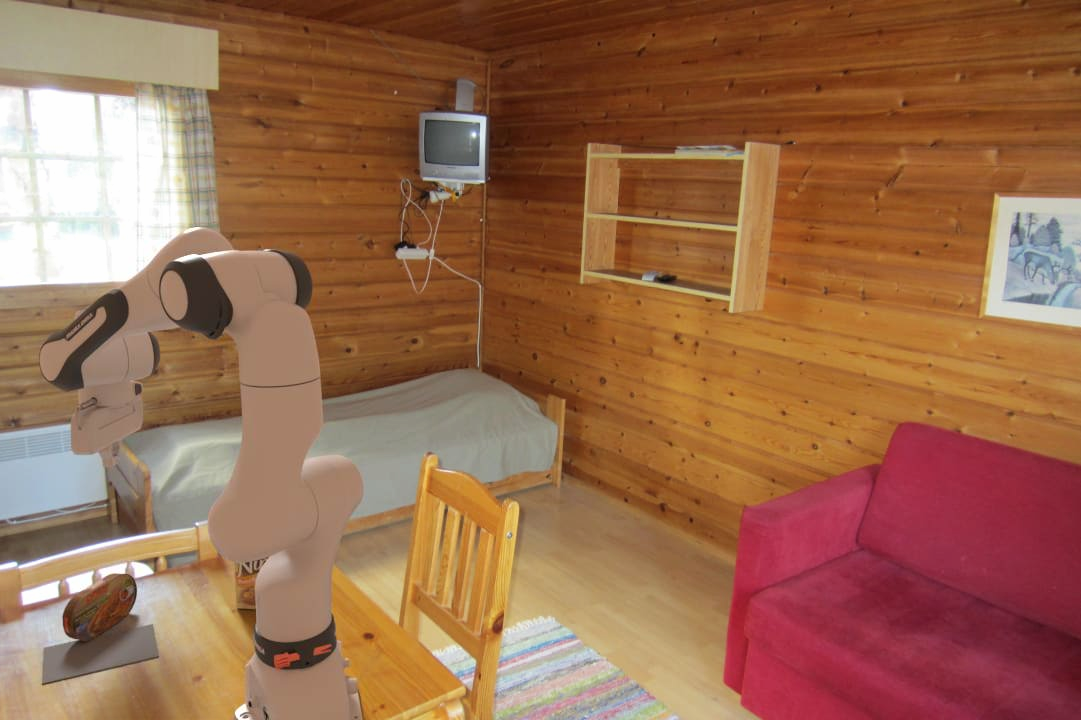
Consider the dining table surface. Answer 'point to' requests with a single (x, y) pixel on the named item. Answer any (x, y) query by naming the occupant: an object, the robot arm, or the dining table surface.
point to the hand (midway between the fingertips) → (111, 465)
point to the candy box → (247, 582)
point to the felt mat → (98, 653)
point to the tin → (99, 606)
